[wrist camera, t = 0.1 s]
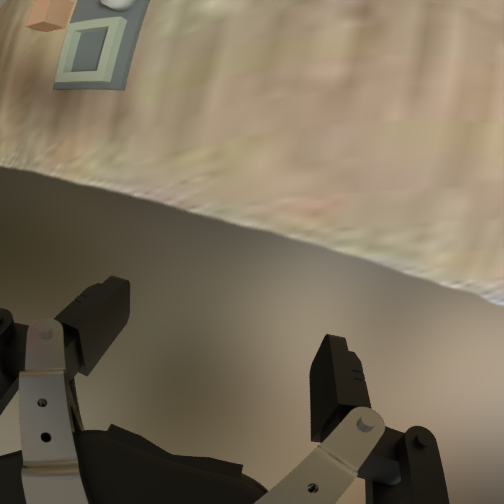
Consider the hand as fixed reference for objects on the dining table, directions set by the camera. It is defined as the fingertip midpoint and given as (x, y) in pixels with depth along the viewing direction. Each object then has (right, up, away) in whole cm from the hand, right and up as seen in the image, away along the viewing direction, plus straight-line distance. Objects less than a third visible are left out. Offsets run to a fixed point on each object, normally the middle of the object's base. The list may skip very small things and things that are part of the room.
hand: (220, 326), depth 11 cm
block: (-32, +43, +18) cm, 56 cm away
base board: (-22, +35, +20) cm, 46 cm away
